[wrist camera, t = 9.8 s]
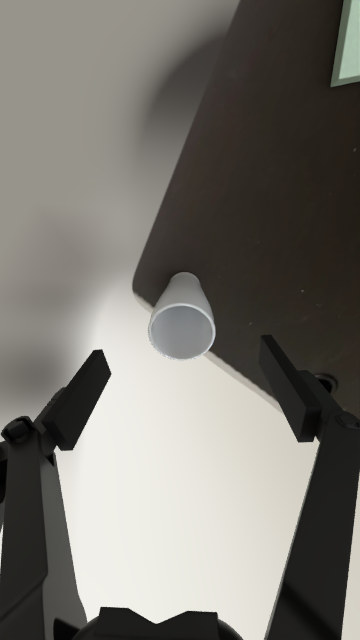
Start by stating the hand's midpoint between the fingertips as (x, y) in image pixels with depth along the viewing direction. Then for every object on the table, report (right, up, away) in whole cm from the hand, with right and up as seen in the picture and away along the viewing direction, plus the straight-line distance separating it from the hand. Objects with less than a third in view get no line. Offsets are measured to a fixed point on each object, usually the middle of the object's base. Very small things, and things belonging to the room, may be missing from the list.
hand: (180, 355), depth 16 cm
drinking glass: (+1, +9, +16) cm, 18 cm away
